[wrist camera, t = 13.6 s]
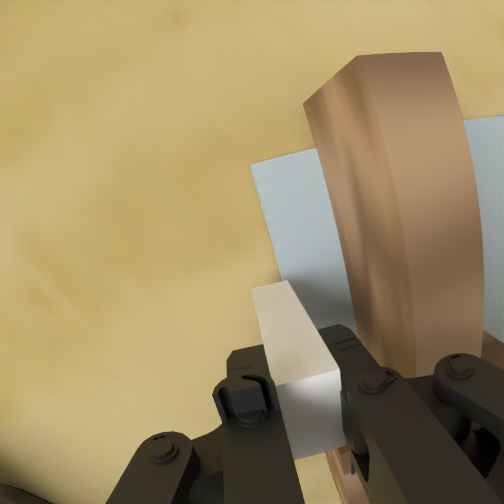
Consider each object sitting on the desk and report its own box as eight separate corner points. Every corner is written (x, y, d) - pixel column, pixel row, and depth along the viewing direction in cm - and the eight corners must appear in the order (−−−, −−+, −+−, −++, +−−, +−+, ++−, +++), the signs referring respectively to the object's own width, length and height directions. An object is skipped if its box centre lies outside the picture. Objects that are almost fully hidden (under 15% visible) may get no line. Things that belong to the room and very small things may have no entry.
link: (446, 416, 18) (490, 468, 12) (329, 468, 17) (355, 537, 12) (415, 86, 13) (498, 55, 7) (234, 120, 13) (241, 75, 7)
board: (330, 469, 18) (332, 475, 18) (249, 165, 14) (250, 164, 13) (566, 330, 19) (570, 332, 18) (563, 112, 14) (568, 111, 14)
